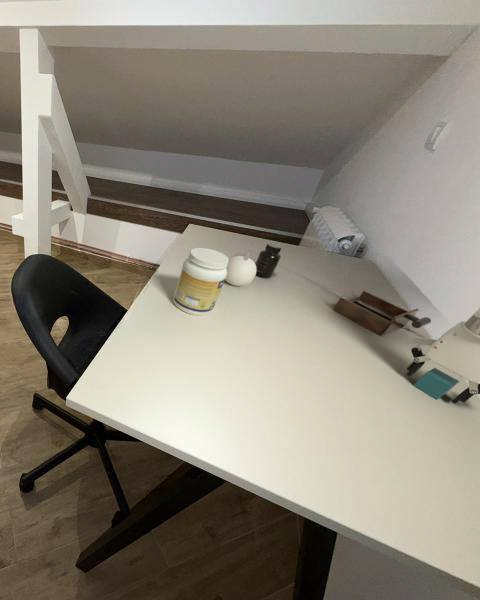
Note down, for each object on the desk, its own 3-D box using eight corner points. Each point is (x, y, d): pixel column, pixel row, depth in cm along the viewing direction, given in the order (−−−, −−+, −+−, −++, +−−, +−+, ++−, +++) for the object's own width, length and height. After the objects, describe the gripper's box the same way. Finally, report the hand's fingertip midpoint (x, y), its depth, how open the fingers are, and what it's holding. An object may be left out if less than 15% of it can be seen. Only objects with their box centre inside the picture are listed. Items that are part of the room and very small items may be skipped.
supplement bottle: (259, 269, 122) (272, 240, 115) (274, 277, 117) (289, 248, 110) (247, 271, 119) (260, 242, 112) (262, 280, 114) (277, 250, 107)
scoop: (422, 335, 93) (439, 317, 89) (399, 346, 87) (416, 326, 83) (356, 302, 106) (368, 284, 103) (332, 309, 101) (344, 291, 97)
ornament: (251, 294, 105) (266, 262, 98) (219, 287, 107) (232, 255, 100) (247, 280, 113) (260, 250, 106) (217, 274, 115) (229, 244, 108)
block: (445, 394, 73) (459, 381, 71) (436, 399, 71) (451, 386, 69) (421, 380, 76) (434, 367, 74) (413, 385, 75) (426, 372, 72)
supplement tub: (214, 320, 90) (236, 268, 80) (172, 311, 91) (188, 260, 82) (210, 298, 100) (229, 250, 90) (171, 291, 101) (186, 242, 92)
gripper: (564, 353, 59) (488, 411, 68) (446, 303, 71) (396, 358, 81) (553, 363, 56) (475, 422, 65) (431, 309, 68) (381, 365, 78)
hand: (432, 386), depth 73 cm, fingers open, 8 cm apart
